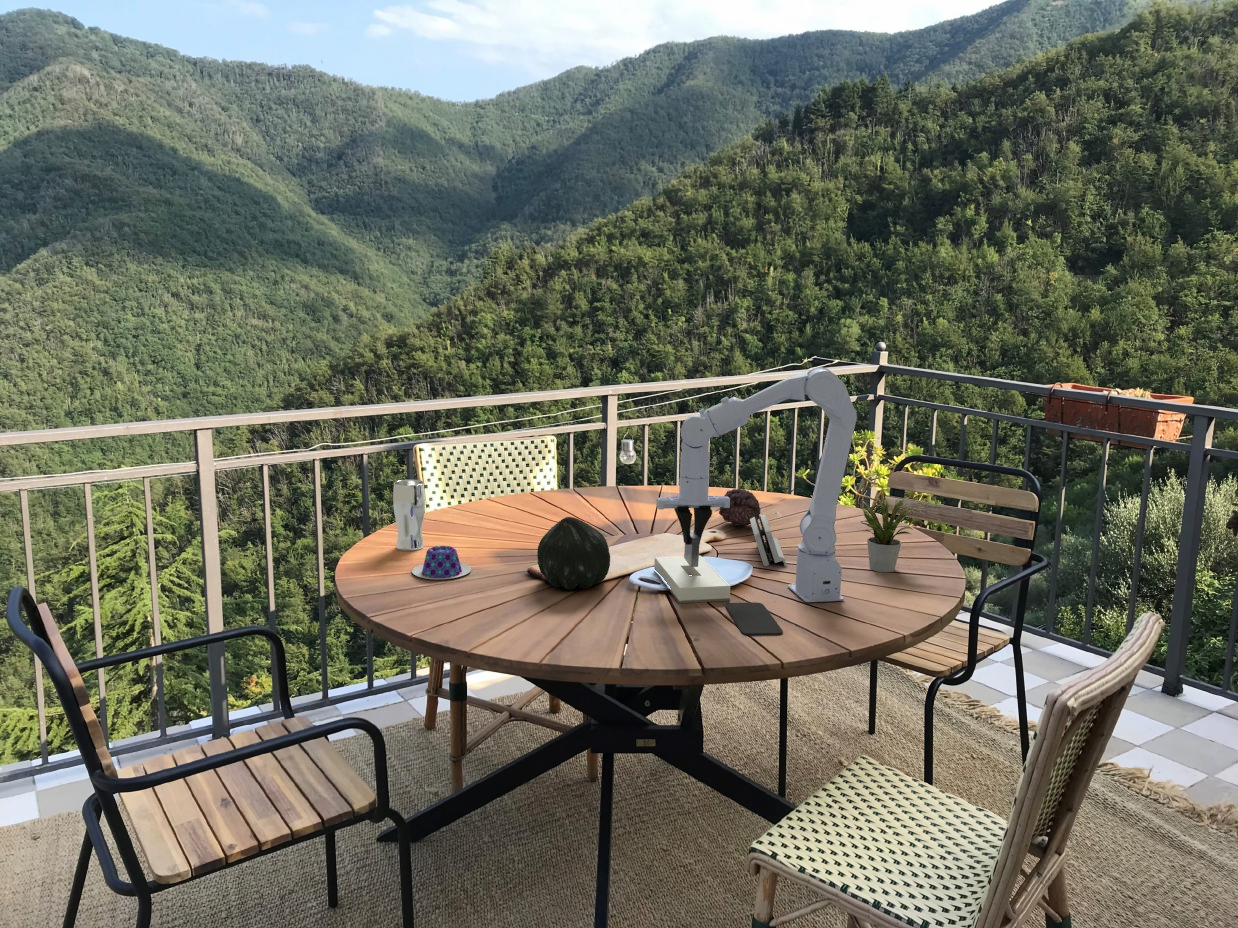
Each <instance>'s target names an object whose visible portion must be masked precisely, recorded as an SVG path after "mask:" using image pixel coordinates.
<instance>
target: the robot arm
mask: <svg viewBox="0 0 1238 928" xmlns="http://www.w3.org/2000/svg"><path fill="white" fill-rule="evenodd" d="M805 395H807V397H808V399H809V400H810V401H812V402H813V404H815V405H817V406H818V407H820V408H821V409H822V411H823V412H824V414H825V415H826V416H827V418H828V419H829V423H828V427H827V432H826V435H825V441H824V444H823V450H822V454H821V458H820V461H819V462H820V463H819V467H818V471H817V476H816V481H815V486H814V489H813V494H812V497H811V500H810V502H809V504H808V508H807V511H806V513H805V514H804V515H803V516H802V518H801V519H800V522H799V531H800V533H801V535H802V540H801V541H800V542H799V543H798V544H797V552H796V553H797V555H796V570H795V582H794V583H793V584H791V583H790V584H787V588H788V589H789V590H790V591H792V592H793V593H794V594H796V595H797V596H798V598H801V600H802V601H804V602H805V603H819V602H820V603H821V602H837V601H838V602H840V601H844V600H845V597H844V596H843V595H841V585H842V566H841V565H840V563H839V562H838V560H837V559H836V558H837V557H836V549H837V548H836V547H835V545H836V542H837V533H836V529H835V525H836V524H835V523H836V519H837V505H838V501H839V498H840V497H839V496H840V493H841V488H842V483H843V479H844V474H845V470H846V465H847V463H848V457H849V454H850V449H851V444H852V441H853V437H854V431H855V427H856V423H857V420H858V418H857V417H858V415H857V410H856V409H855V406H854V404H853V402H852V399H851V397H850V394H849V391H848V388H847V386H846V384H845V383H844V382H843V381H842V380H841V379H840V378H839V377H838V375H836V374H835V372H834V373H833V372H832V371H831V370H830V369H828V368H825V367H821V366H818V367H814V368H811V369H810V370H808V372H807V371H803V372H800V373H796V374H794V375H792V376H789V377H786V378H784V379H782V380H780V381H778V382H776V383H773V384H772V385H771V386H768V387H766V388H764V389H762V390H760V391H758V392H756V393H755V394H751V395H750V396H749V397H746V398H744V399H741V398H739V397H735V396H732V397H731V398H729V397H728V396H725V397H723V398H721V399H720V401H721V402H719V403H717V404H716V405H713V406H711V407H709V408H706V409H705V408H701V409H699V410H698V412H699V414H692V415H689V416H687V417H686V419H685V420H684V421H683V423H682V425H681V427H680V436H681V439H682V441H681V444H680V446H681V447H680V448H681V452H680V461H679V463H680V464H679V487H678V488H679V489H678V491H679V494H678V495H676V496H675V495H673V496H666V497H656V508H657V509H658V510H662V511H663V510H665V509H666V510H667V509H674V512H675V514H676V516H677V519H678V522H679V524H680V525H679V526H680V528H681V532H682V537H683V538H682V539H683V543H684V545H685V544H686V545H689V544H690V530H691V527H692V526H691V525H692V520H693V521H694V528H693V530H694V532H695V533H696V534H697V535H698V536H699V538H700V542H701V540H702V537H703V534H704V531H705V528H706V526H707V524H708V522H709V520H711V518H712V516H713V510H712V508H720V507H724V508H730V498H729V497H727V496H724V495H722V496H721V495H719V496H718V495H709V484H710V483H709V482H710V462H711V461H710V460H711V459H710V457H711V454H710V452H709V450H710V449H709V447H710V446H709V445H710V440H711V438H713V437H714V438H718V437H720V436H723V435H725V434H727V433H729V432H732V431H734V430H736V429H738V428H741V427H743V426H744V425H747V423H748V420H749V418H750V415H752V414H755V413H758V412H760V411H762V410H765V409H766V408H769V407H772V406H774V405H777V404H779V403H782V402H784V401H787V400H796V401H804V402H805V399H806V397H805ZM691 509H693V513H692V512H691ZM692 517H693V518H694V519H692Z"/></svg>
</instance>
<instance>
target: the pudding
mask: <svg viewBox="0 0 1238 928" xmlns="http://www.w3.org/2000/svg"><path fill="white" fill-rule="evenodd" d="M459 559H460V558H459V555H458V551H457V550H456V548H454V547H453V546H450V545H449V546H447V545H436V546H432V547H429V548H428V549H427V551H426V554H425V558H424V563H422V564H419V565H417V566H415V567H414V568H412V570H411V573H412V574H413V575H415V576H416V577H418V578H422V579H426V580H427V579H428V580H450V579H455V578H459V577H460V578H461V577H463V576H465V575H467V574H469V573H470V572H471V571H472V568H471V566H470V565H469V564H466V563H463V562H460V560H459Z"/></svg>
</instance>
